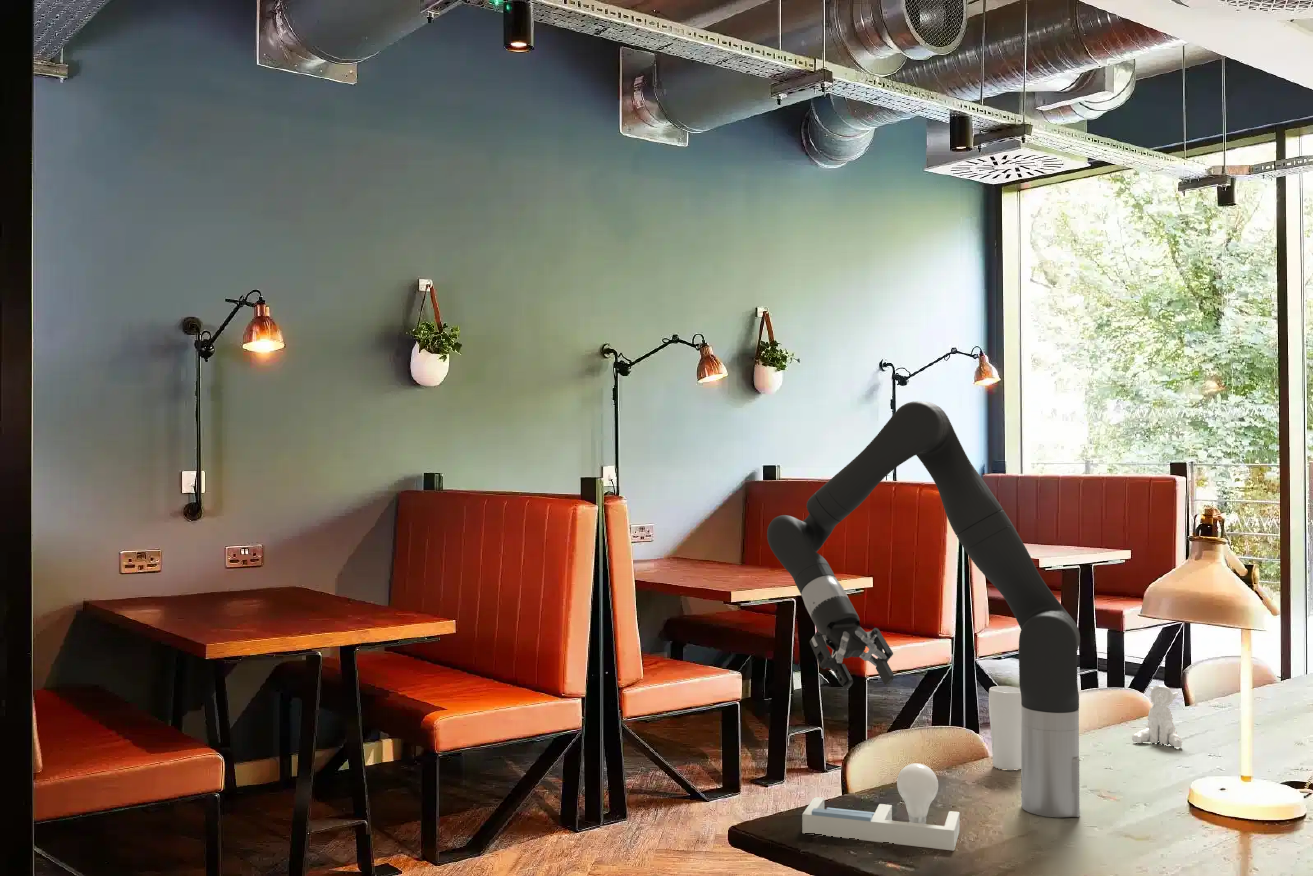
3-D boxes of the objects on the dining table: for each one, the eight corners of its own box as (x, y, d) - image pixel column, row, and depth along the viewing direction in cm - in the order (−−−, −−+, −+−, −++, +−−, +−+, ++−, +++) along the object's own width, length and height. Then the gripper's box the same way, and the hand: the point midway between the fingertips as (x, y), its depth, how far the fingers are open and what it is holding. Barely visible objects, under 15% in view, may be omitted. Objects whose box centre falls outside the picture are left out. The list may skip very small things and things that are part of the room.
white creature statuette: (1131, 744, 238) (1131, 686, 239) (1138, 735, 246) (1138, 679, 246) (1181, 750, 233) (1181, 691, 234) (1186, 741, 241) (1186, 684, 241)
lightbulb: (915, 843, 176) (915, 771, 176) (888, 831, 181) (888, 761, 182) (946, 837, 179) (946, 766, 179) (919, 825, 184) (919, 756, 185)
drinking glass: (1027, 774, 215) (1027, 693, 215) (990, 771, 216) (990, 692, 217) (1023, 764, 222) (1023, 686, 222) (987, 762, 223) (987, 685, 223)
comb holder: (960, 829, 183) (960, 806, 183) (954, 850, 173) (954, 826, 173) (816, 813, 190) (816, 791, 190) (802, 833, 180) (802, 810, 180)
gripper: (805, 596, 198) (845, 674, 188) (871, 592, 205) (913, 667, 195) (787, 622, 203) (825, 700, 193) (852, 618, 210) (892, 693, 199)
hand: (869, 684), depth 194 cm, fingers open, 8 cm apart
